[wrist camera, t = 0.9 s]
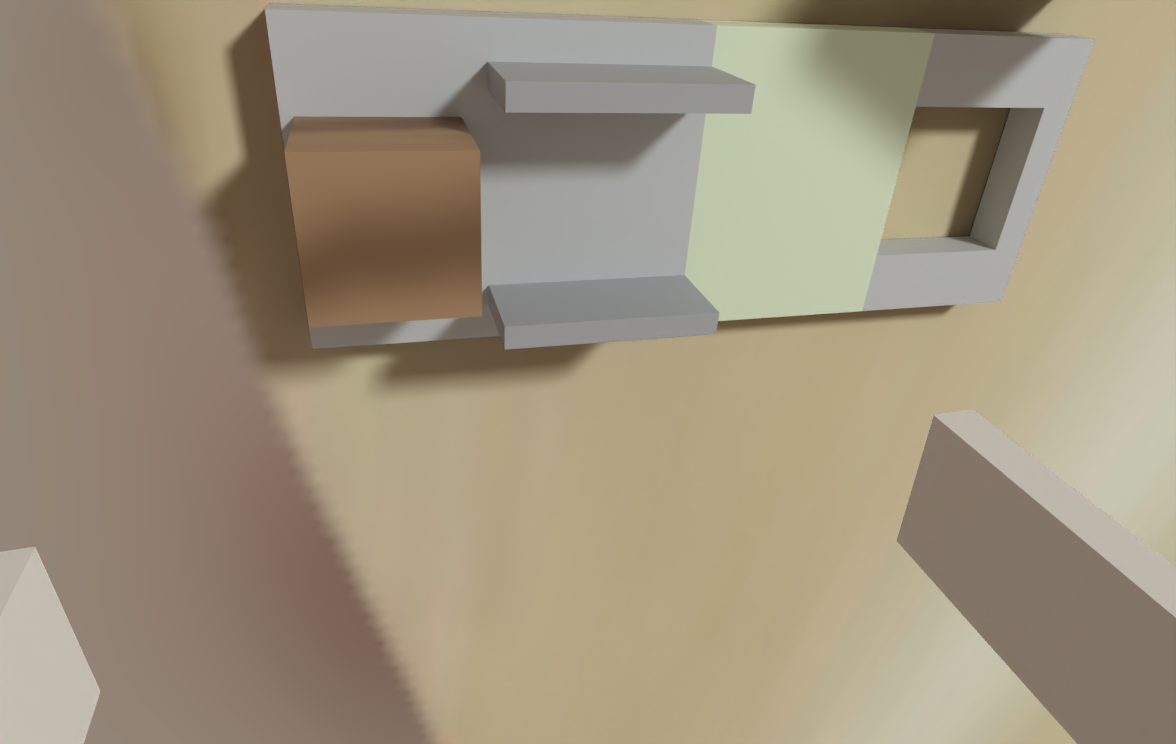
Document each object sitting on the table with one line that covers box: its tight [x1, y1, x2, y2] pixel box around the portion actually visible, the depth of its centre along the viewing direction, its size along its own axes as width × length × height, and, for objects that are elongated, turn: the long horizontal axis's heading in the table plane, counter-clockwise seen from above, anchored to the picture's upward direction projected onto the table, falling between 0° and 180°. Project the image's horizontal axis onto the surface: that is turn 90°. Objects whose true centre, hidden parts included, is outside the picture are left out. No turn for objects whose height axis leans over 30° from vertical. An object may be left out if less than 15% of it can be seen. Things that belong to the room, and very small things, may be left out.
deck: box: [265, 3, 1095, 350], centre depth 32 cm, size 13×35×6 cm, turn 87°
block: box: [284, 116, 482, 327], centre depth 28 cm, size 6×6×5 cm
